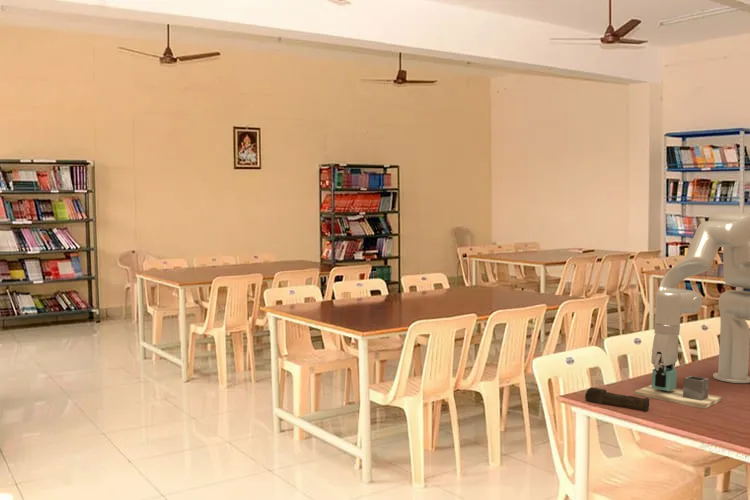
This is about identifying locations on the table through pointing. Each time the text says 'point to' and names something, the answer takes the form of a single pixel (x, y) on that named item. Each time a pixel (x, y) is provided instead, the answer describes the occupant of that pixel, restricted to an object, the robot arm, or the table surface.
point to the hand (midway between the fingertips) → (664, 384)
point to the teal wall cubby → (670, 379)
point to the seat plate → (684, 393)
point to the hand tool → (616, 399)
